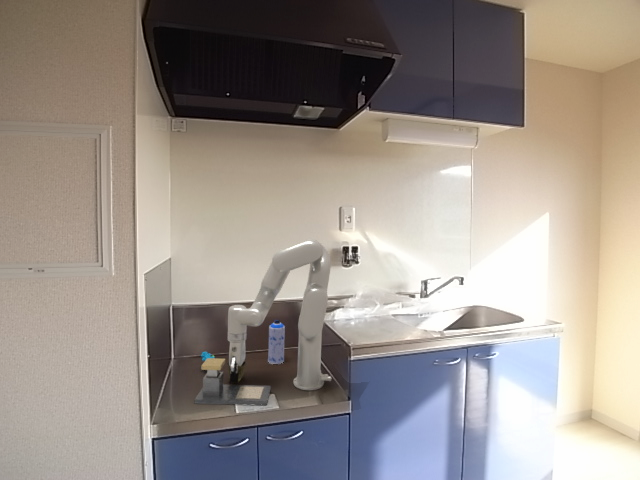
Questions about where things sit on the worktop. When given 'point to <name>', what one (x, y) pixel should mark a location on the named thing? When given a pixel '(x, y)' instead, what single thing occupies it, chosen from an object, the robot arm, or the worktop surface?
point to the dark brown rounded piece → (240, 370)
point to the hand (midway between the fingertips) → (236, 377)
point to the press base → (231, 393)
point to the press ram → (213, 367)
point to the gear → (206, 356)
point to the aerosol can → (276, 343)
